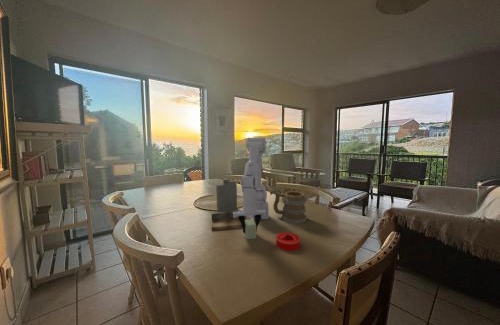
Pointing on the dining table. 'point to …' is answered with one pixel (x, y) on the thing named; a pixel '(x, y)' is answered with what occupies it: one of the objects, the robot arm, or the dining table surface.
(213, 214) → the cleat wall
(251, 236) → the mini cabinet
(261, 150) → the robot arm
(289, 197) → the tankard
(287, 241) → the decorative ornament
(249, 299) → the dining table surface
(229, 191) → the hip flask
